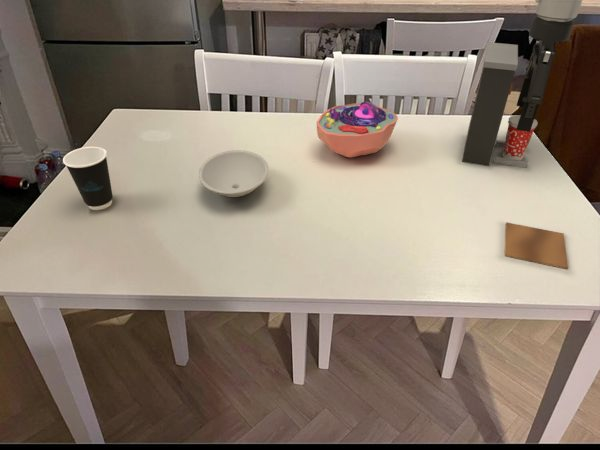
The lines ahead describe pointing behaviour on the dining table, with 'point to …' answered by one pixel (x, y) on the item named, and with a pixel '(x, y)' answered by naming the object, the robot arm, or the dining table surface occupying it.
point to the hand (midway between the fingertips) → (522, 117)
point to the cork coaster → (535, 245)
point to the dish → (233, 172)
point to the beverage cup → (516, 139)
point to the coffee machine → (491, 105)
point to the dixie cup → (90, 175)
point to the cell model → (356, 128)
